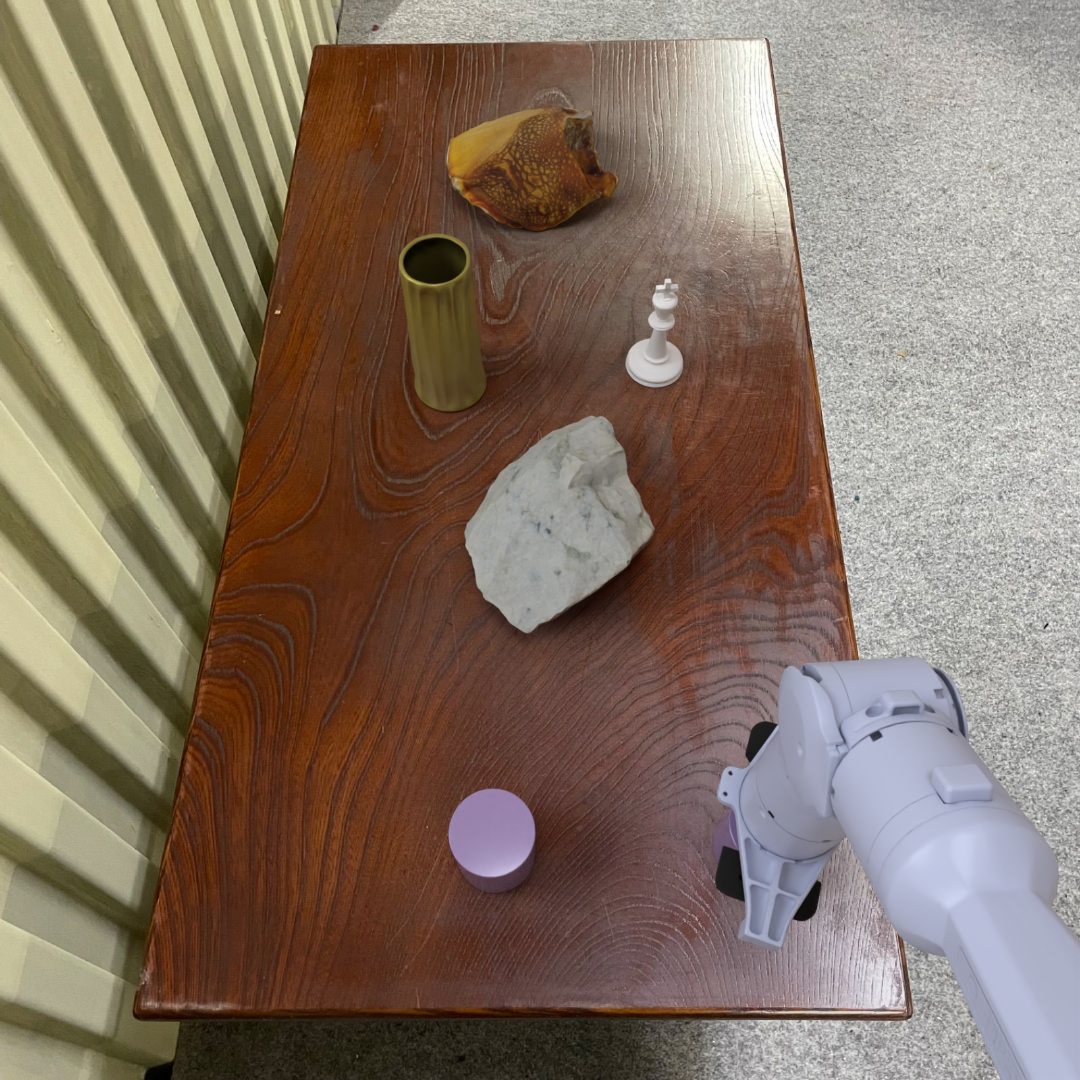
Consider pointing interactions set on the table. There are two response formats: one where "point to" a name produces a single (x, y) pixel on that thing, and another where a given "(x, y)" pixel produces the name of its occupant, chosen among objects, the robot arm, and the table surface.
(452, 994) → the table surface
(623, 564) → the rock
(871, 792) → the robot arm
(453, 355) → the vase
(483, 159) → the seashell
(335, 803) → the table surface
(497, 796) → the lavender cylinder post
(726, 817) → the purple round peg
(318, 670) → the table surface
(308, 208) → the table surface
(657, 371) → the chess piece
